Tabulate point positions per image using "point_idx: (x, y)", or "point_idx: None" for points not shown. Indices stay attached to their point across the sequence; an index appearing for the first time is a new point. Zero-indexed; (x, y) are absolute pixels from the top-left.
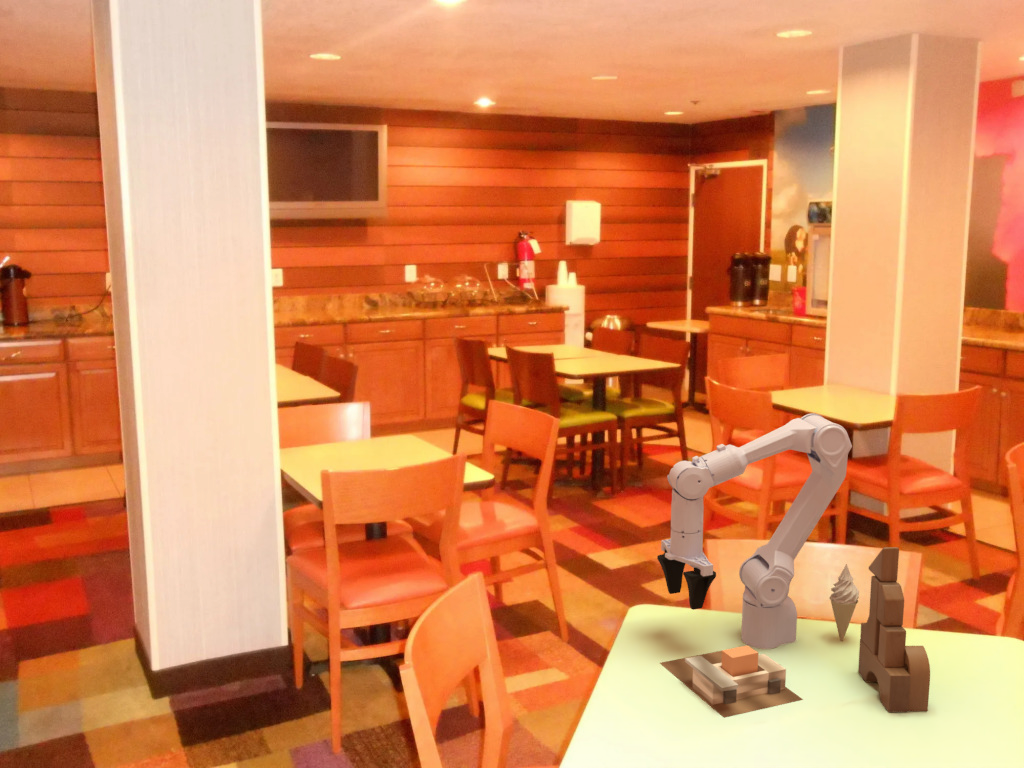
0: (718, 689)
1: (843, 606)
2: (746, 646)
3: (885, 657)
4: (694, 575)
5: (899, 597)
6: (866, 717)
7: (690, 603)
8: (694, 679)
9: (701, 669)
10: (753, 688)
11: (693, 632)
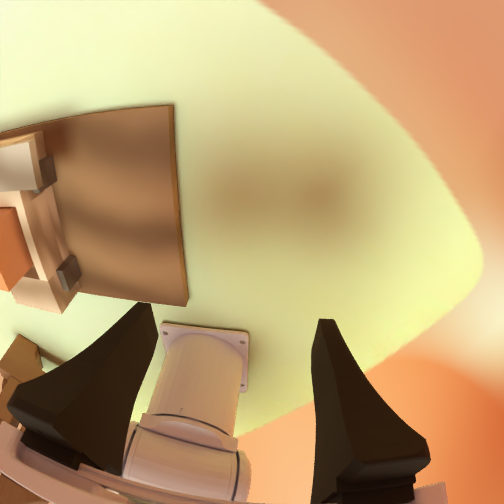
0: None
1: None
2: (4, 286)
3: (5, 385)
4: (16, 417)
5: None
6: (6, 310)
7: (133, 314)
8: (22, 137)
9: None
10: None
11: (320, 292)
